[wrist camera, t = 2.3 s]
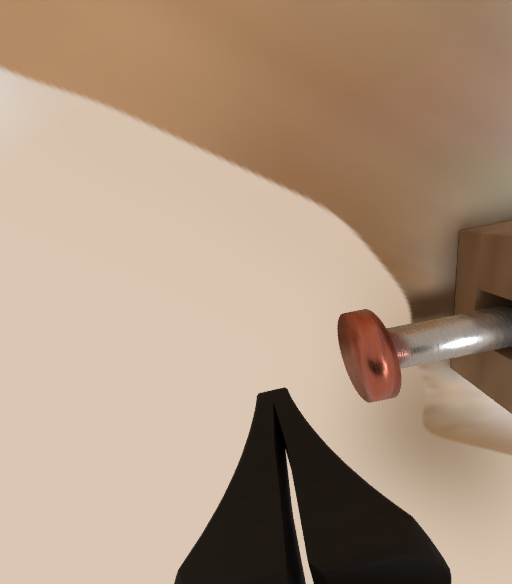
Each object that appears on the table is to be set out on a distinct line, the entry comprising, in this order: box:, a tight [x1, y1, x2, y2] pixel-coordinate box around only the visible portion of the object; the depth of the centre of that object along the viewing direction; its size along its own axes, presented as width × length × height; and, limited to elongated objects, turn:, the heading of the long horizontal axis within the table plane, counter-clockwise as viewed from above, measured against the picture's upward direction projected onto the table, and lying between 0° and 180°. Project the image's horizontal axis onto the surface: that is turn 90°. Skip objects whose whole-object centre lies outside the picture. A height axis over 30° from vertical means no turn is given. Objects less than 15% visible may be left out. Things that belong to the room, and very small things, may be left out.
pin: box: [338, 303, 512, 402], centre depth 14 cm, size 12×5×5 cm, turn 101°
